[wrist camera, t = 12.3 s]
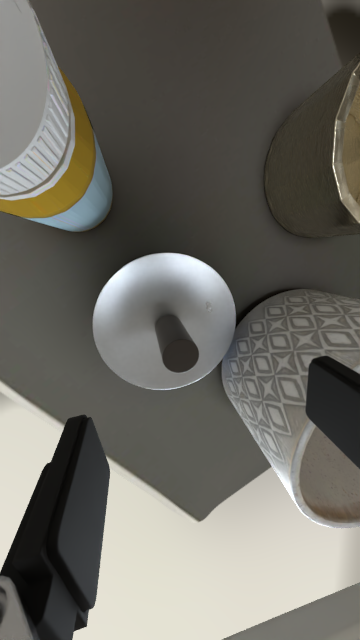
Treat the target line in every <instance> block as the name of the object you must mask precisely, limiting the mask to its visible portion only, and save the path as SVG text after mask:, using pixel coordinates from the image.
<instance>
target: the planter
mask: <svg viewBox="0 0 360 640" xmlns="http://www.w3.org/2000/svg"><path fill="white" fill-rule="evenodd" d="M321 356H329V357H331V358H333V359H335V360H336V361H338V362H340V363H342V364H343V365H345V366H347V367H349V368H350V369H352V370H354V371H356V372H357V373H359V374H360V300H359V299H354V298H350V297H345V296H340V295H336V294H331V293H327V292H322V291H318V290H312V289H297V290H290V291H286V292H283V293H279V294H277V295H275V296H273V297H270V298H268V299H267V300H265V301H264V302H262V303H260V304H259V305H257V306H256V307H255V308H254V309H253V310H252V311H250V312H249V313H248V314H247V315H246V316H245V317H244V319H243V320H242V321H241V322H240V323H239V324H238V326H237V327H236V329H235V332H234V336H233V339H232V342H231V344H230V347H229V349H228V351H227V352H226V354H225V356H224V357H223V361H222V381H223V386H224V389H225V392H226V394H227V396H228V398H229V399H230V401H231V402H232V404H233V406H234V407H235V409H236V410H237V412H238V413H239V415H240V417H241V418H242V420H243V421H244V423H245V424H246V426H247V428H248V429H249V431H250V432H251V434H252V436H253V437H254V439H255V440H256V442H257V443H258V445H259V447H260V448H261V450H262V451H263V453H264V455H265V456H266V458H267V459H268V461H269V462H270V464H271V466H272V467H273V469H274V470H275V472H276V473H277V475H278V477H279V478H280V480H281V481H282V483H283V484H284V486H285V488H286V489H287V491H288V492H289V494H290V496H291V497H292V499H293V500H294V502H295V503H296V505H297V507H298V508H299V510H300V511H301V512H302V513H303V514H304V515H305V516H306V517H307V518H309V519H310V520H312V521H314V522H316V523H318V524H320V525H324V526H328V527H333V528H352V527H359V526H360V469H359V468H358V467H357V466H356V465H355V464H354V463H353V462H352V461H351V460H350V459H349V458H348V457H347V456H346V455H345V454H344V453H343V452H342V451H341V450H340V449H339V448H338V447H337V446H336V445H335V444H334V443H333V442H332V441H331V440H330V439H329V438H328V437H327V436H326V435H325V434H324V433H323V432H322V431H321V430H320V429H319V428H318V427H317V426H316V425H315V424H314V423H313V422H312V421H311V420H310V419H309V418H308V417H307V415H306V412H305V408H306V395H307V382H308V369H309V364H310V363H311V360H312V359H314V358H317V357H321Z"/></svg>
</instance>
